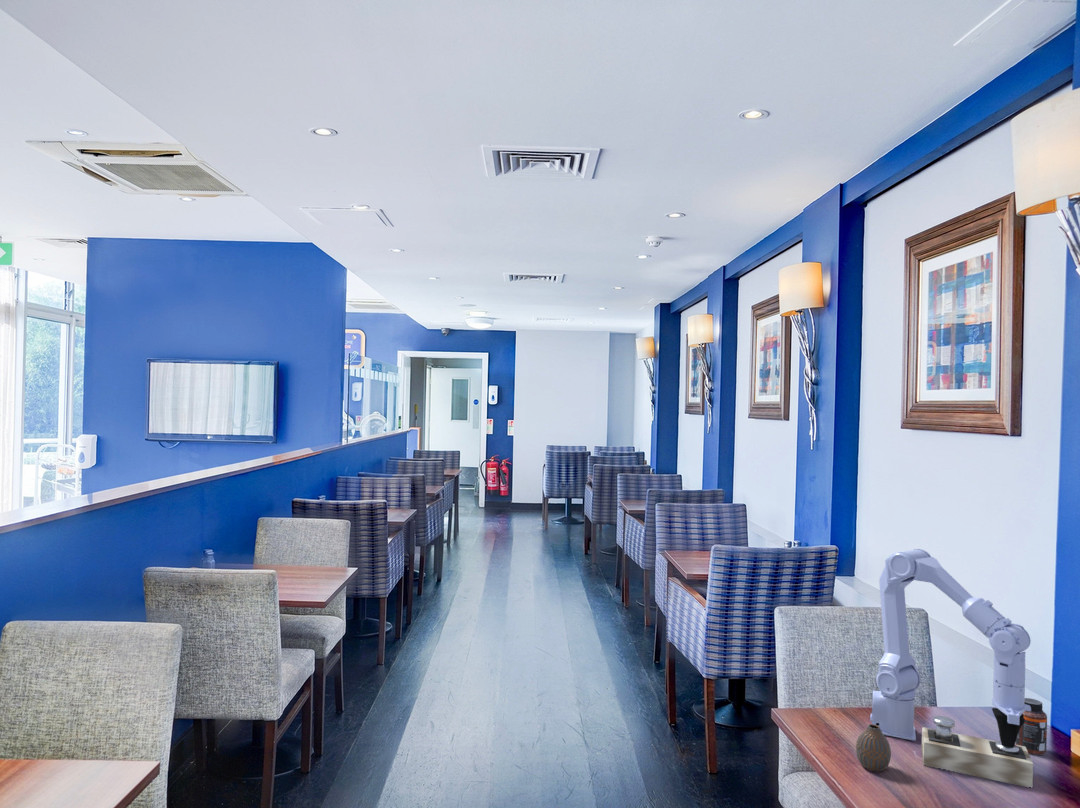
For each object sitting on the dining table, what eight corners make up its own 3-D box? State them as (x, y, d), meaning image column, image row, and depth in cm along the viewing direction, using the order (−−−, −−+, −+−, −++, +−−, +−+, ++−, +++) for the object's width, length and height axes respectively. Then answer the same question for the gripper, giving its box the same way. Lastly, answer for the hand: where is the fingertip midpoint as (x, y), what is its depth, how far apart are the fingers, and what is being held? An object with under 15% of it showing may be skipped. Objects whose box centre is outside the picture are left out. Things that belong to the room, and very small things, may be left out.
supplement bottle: (1051, 757, 167) (1052, 707, 167) (1022, 754, 168) (1023, 704, 168) (1039, 746, 173) (1040, 697, 173) (1010, 742, 174) (1012, 694, 174)
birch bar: (923, 765, 161) (924, 740, 161) (921, 748, 169) (922, 725, 169) (1032, 788, 152) (1033, 762, 152) (1024, 769, 161) (1025, 745, 161)
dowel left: (933, 743, 162) (933, 721, 162) (932, 735, 166) (932, 714, 166) (955, 747, 161) (955, 725, 161) (953, 740, 164) (954, 718, 164)
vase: (888, 763, 161) (889, 722, 161) (892, 777, 155) (893, 735, 155) (854, 757, 164) (855, 717, 164) (856, 771, 157) (857, 729, 157)
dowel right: (996, 769, 157) (997, 747, 157) (993, 761, 161) (994, 739, 161) (1019, 774, 155) (1020, 751, 155) (1016, 766, 159) (1017, 743, 159)
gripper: (1037, 697, 150) (1036, 764, 150) (1025, 675, 163) (1023, 737, 163) (997, 690, 153) (995, 756, 153) (988, 669, 166) (986, 730, 166)
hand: (1007, 746), depth 158 cm, fingers closed, pressing on dowel right
